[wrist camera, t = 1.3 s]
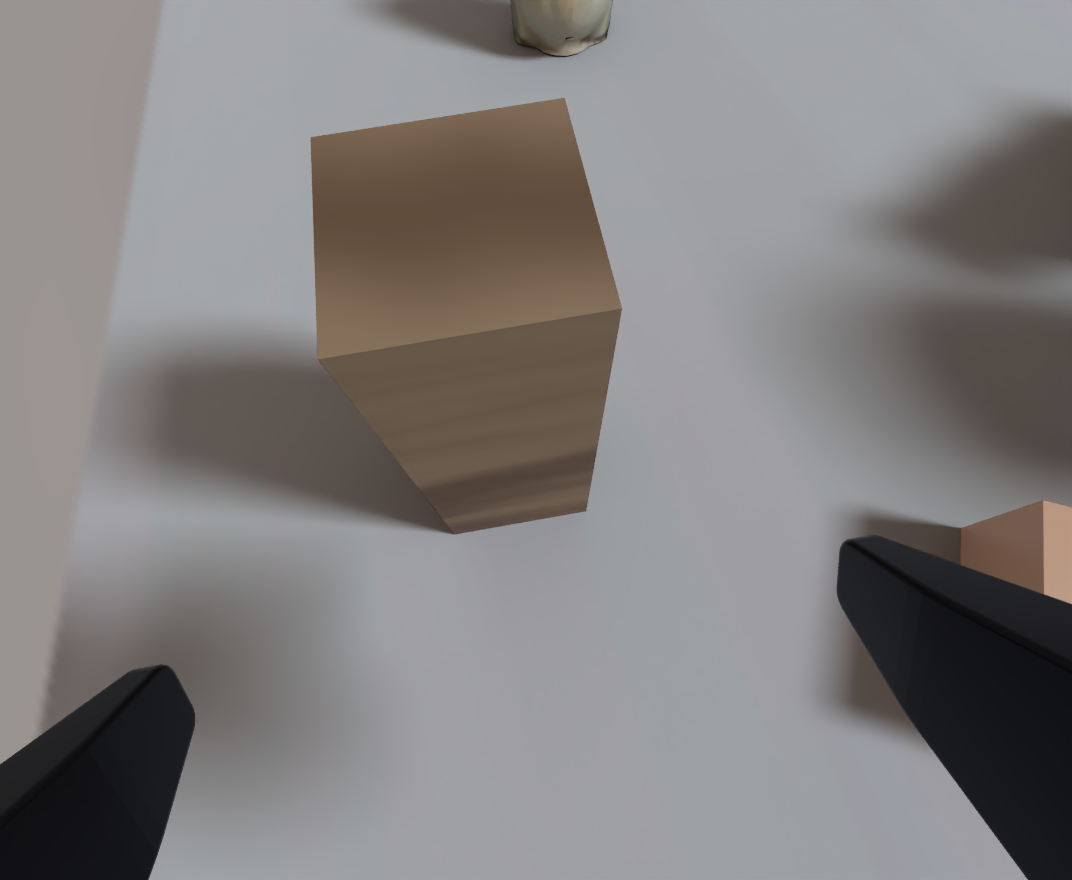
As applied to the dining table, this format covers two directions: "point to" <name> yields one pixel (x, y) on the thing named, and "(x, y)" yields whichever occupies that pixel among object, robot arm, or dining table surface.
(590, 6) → the grey-green rounded block
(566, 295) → the walnut block
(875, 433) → the dining table surface
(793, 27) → the dining table surface
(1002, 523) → the terracotta block
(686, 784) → the dining table surface
